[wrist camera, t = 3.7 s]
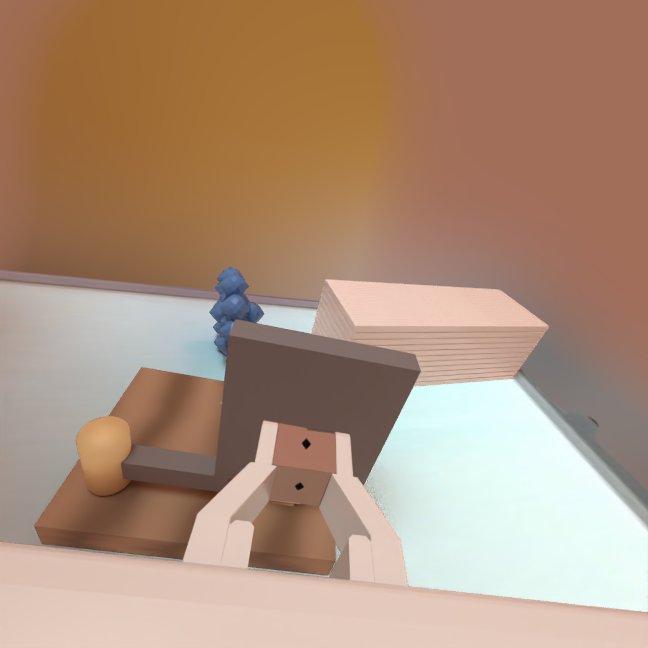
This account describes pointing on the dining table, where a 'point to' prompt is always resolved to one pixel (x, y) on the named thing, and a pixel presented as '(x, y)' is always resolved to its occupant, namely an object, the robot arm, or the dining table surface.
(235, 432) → the paddle
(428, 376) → the stack of papers
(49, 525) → the wooden cutting board
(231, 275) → the grapes
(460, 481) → the dining table surface
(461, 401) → the dining table surface
